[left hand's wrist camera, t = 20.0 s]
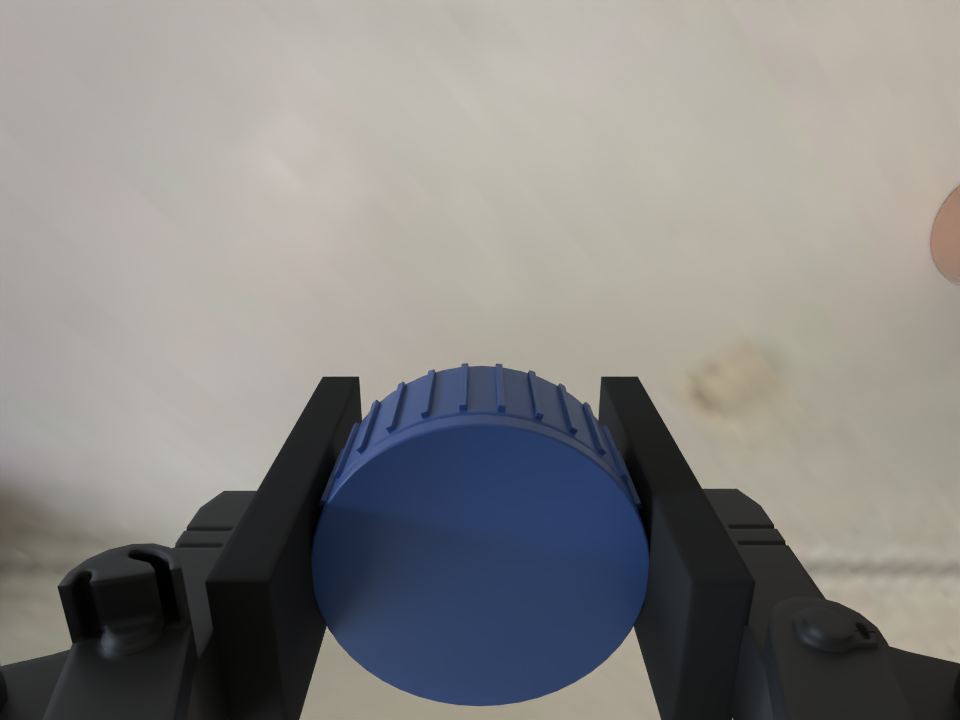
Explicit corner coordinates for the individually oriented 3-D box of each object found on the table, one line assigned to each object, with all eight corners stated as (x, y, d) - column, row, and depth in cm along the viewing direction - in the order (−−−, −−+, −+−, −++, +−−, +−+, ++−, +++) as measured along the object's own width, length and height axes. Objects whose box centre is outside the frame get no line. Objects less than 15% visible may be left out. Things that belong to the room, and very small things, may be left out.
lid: (613, 613, 13) (639, 712, 11) (343, 611, 13) (317, 709, 11) (638, 361, 12) (674, 422, 9) (324, 358, 11) (289, 417, 9)
